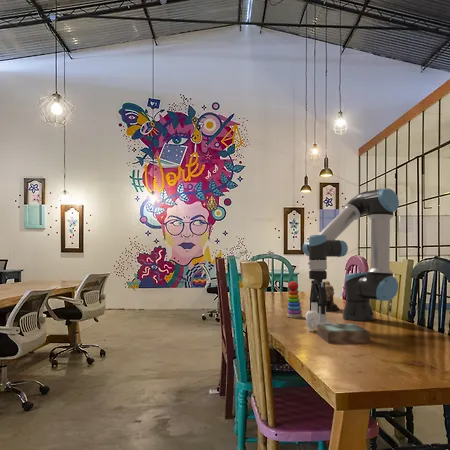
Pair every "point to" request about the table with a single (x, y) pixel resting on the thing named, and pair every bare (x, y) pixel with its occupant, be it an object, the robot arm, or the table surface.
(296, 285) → the stacking toy
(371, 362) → the table surface
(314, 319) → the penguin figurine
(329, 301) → the owl figurine
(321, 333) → the square wooden tray
